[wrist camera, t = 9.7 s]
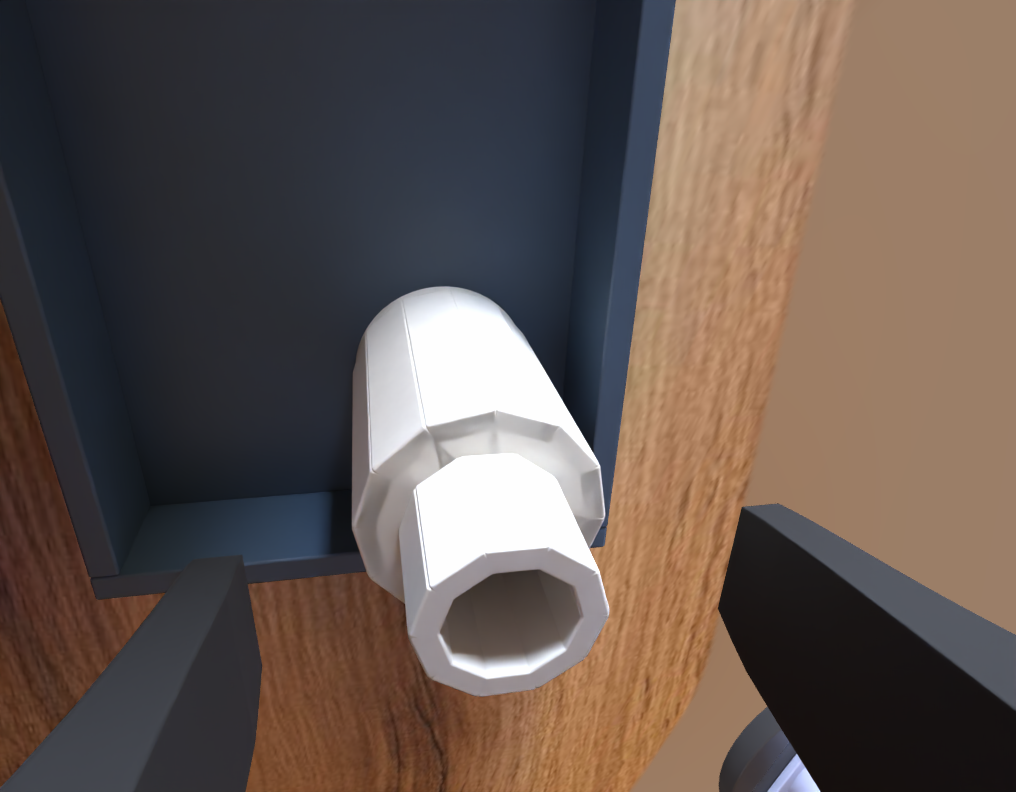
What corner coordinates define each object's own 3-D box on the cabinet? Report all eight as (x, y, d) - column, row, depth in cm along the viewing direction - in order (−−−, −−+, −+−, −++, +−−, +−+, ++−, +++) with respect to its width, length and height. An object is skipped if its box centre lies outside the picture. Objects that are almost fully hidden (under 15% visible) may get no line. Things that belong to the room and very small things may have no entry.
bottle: (549, 313, 16) (707, 531, 9) (490, 454, 17) (585, 739, 10) (383, 263, 15) (411, 471, 7) (335, 419, 16) (321, 719, 9)
